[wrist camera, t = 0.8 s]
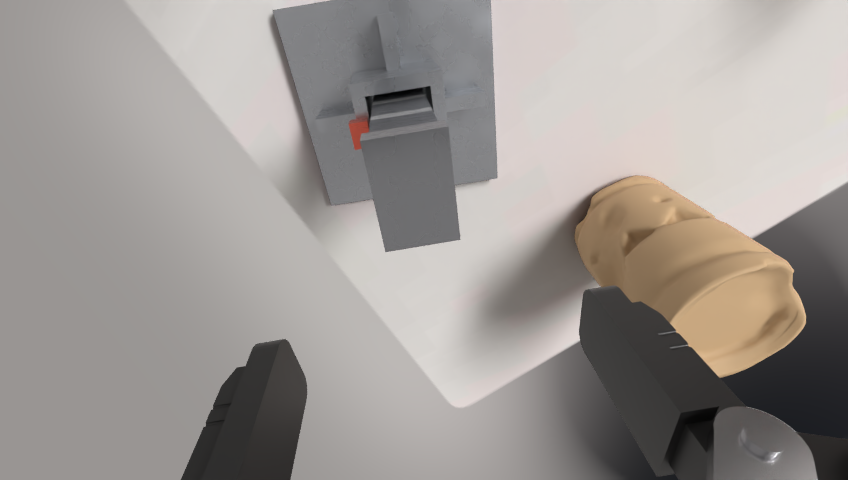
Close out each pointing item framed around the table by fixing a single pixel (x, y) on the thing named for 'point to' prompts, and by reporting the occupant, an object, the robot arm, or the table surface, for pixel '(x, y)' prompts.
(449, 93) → the stand
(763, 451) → the robot arm
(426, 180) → the column
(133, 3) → the table surface
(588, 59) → the table surface
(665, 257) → the container
